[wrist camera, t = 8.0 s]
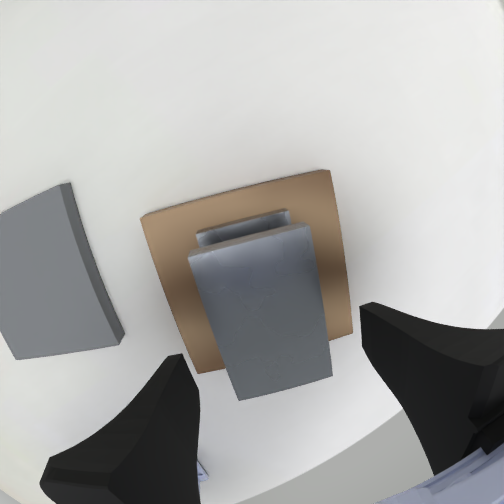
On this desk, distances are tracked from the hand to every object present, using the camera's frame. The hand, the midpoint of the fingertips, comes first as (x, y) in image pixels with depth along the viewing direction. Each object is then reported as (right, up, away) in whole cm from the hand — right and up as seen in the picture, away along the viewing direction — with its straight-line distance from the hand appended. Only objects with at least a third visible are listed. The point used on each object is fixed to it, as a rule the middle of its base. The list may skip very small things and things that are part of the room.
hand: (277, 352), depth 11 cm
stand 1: (-17, +2, +7) cm, 18 cm away
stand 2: (-1, +2, +8) cm, 8 cm away
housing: (-1, +2, +7) cm, 7 cm away
